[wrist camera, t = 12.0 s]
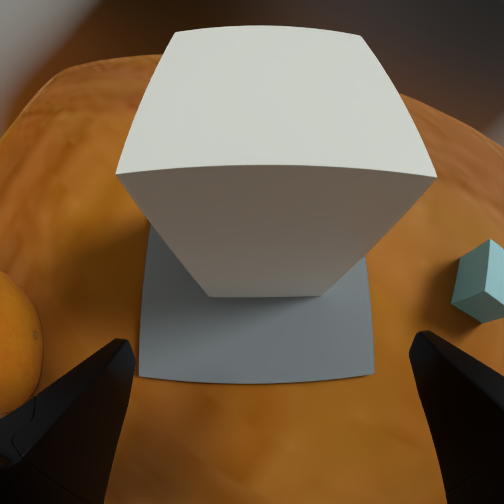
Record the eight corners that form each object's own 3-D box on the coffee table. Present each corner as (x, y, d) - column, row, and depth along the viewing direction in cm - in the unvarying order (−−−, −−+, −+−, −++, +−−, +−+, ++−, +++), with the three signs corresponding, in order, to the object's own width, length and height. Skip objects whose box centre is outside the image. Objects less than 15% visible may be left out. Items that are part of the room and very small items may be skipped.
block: (481, 323, 15) (515, 313, 12) (450, 303, 16) (484, 290, 12) (489, 279, 17) (520, 263, 13) (459, 258, 17) (490, 238, 13)
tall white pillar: (321, 295, 16) (436, 177, 5) (209, 297, 16) (115, 174, 5) (312, 198, 18) (360, 35, 7) (214, 198, 18) (175, 32, 7)
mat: (370, 373, 15) (374, 373, 14) (142, 375, 15) (138, 376, 14) (347, 175, 20) (349, 171, 19) (161, 178, 20) (159, 174, 19)
